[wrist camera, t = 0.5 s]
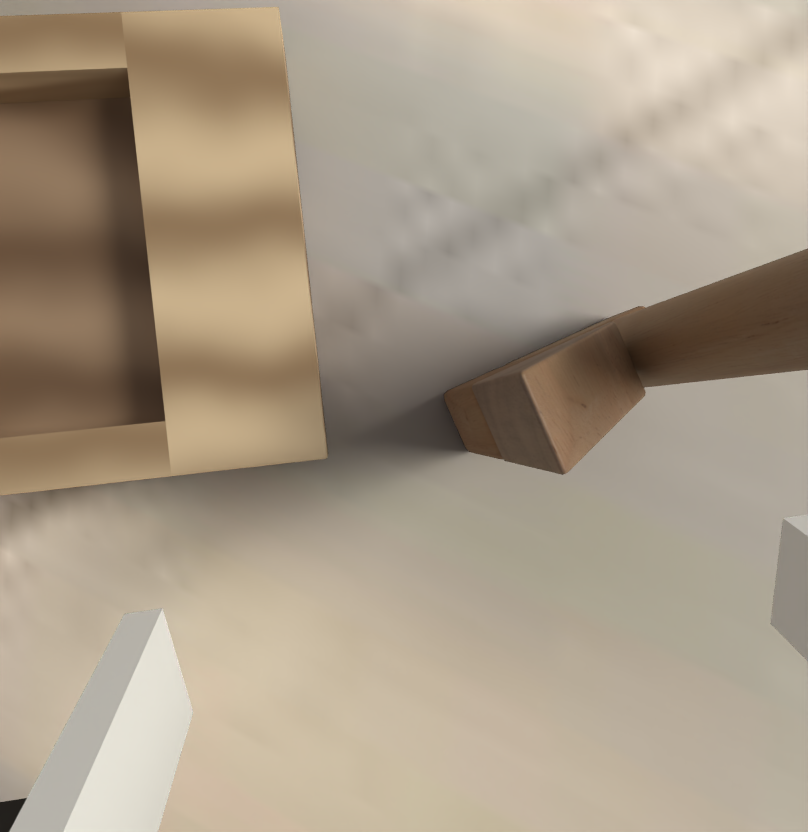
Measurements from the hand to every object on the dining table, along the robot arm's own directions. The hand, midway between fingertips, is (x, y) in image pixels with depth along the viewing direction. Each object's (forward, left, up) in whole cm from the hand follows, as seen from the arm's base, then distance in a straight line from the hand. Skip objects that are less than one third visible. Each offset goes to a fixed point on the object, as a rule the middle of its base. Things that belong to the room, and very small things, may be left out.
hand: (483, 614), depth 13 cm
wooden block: (+5, -9, -20) cm, 23 cm away
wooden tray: (+13, +15, -20) cm, 28 cm away
